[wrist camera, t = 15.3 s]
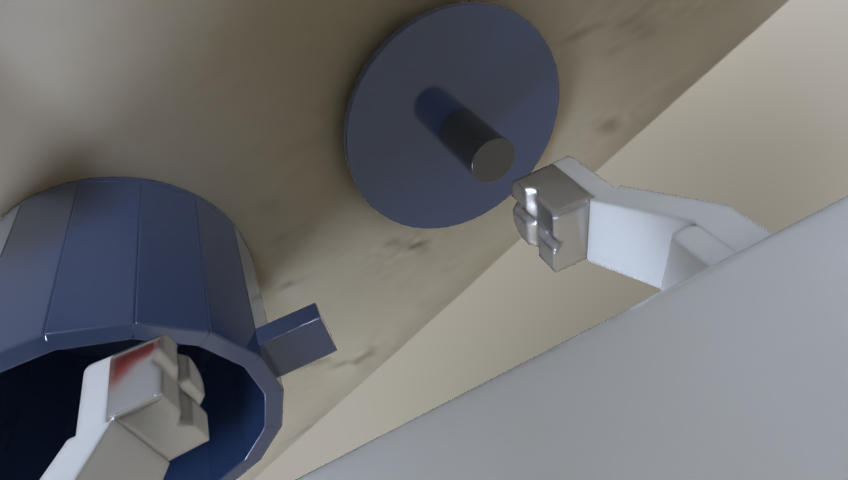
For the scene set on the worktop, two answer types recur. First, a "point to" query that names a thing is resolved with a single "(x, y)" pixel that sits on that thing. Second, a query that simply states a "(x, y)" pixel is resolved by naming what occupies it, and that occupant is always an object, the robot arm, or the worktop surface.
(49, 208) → the pot
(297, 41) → the worktop surface
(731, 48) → the worktop surface
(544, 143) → the lid
